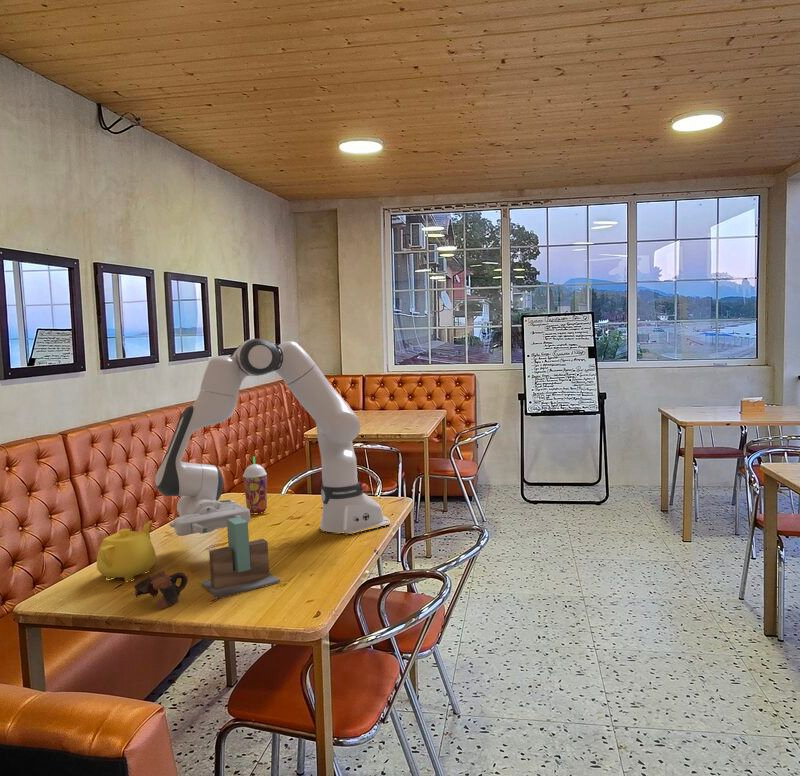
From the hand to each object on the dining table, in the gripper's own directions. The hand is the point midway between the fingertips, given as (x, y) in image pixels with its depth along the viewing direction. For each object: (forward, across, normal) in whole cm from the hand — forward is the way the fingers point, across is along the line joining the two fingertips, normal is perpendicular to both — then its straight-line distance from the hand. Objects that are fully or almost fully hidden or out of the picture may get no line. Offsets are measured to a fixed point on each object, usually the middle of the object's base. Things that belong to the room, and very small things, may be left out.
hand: (221, 526), depth 172 cm
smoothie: (-50, +29, +12) cm, 59 cm away
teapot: (-14, -21, +12) cm, 28 cm away
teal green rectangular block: (+12, 0, +8) cm, 14 cm away
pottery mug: (+10, -19, +12) cm, 25 cm away
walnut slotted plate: (+12, 0, +12) cm, 17 cm away
